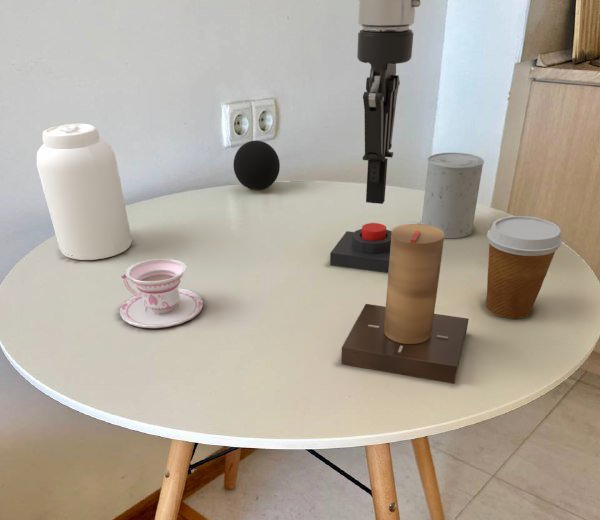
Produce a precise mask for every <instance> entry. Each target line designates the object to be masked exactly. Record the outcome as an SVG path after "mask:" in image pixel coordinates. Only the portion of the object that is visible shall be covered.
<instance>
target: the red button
mask: <svg viewBox="0 0 600 520" xmlns="http://www.w3.org/2000/svg"><path fill="white" fill-rule="evenodd" d="M361 229H362V238H363V239H366V240H373V241H376V240H383V239H385V238H386V229H387V225H385V224H382V223H379V222H378V223H377V222H368V223H364V224H363V225H362V226H361Z"/></svg>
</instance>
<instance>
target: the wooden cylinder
mask: <svg viewBox="0 0 600 520" xmlns="http://www.w3.org/2000/svg"><path fill="white" fill-rule="evenodd" d="M391 231H392V232H391V245H390V258H389V271H388V273H387V284H386V285H387V286H386V297H385V307H386V309H385V322H384V333H385V335H386V336H387V337H388V338H389V339H391V340H393V341H395V342H398V343H403V344H417V343H422V342H424V341H426V340H428V339H429V338H430V337H431V333H432V326H433V318H434V314H435V309H436V303H437V295H438V288H439V280H440V274H441V273H440V272H441V265H442V257H443V250H444V245H445V244H444V243H445V238H444V236H445V234H444V232H443V231H442V230H441V229H439V228H437V227H434V226H430V225H424V224H421V223H407V224H401V225H398V226H395V227H394V228H392V230H391Z"/></svg>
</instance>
